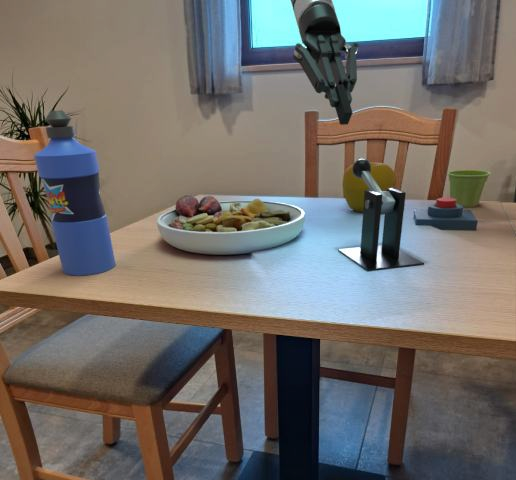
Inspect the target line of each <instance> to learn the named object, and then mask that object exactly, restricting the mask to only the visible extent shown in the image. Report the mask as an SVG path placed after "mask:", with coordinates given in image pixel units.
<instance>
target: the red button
mask: <svg viewBox="0 0 516 480" xmlns="http://www.w3.org/2000/svg"><path fill="white" fill-rule="evenodd" d="M435 201H436V202H435V203H436V207H439V208H455V207H456V201H457V200H456V199H454V198H450V197H439V198H436V200H435Z"/></svg>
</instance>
